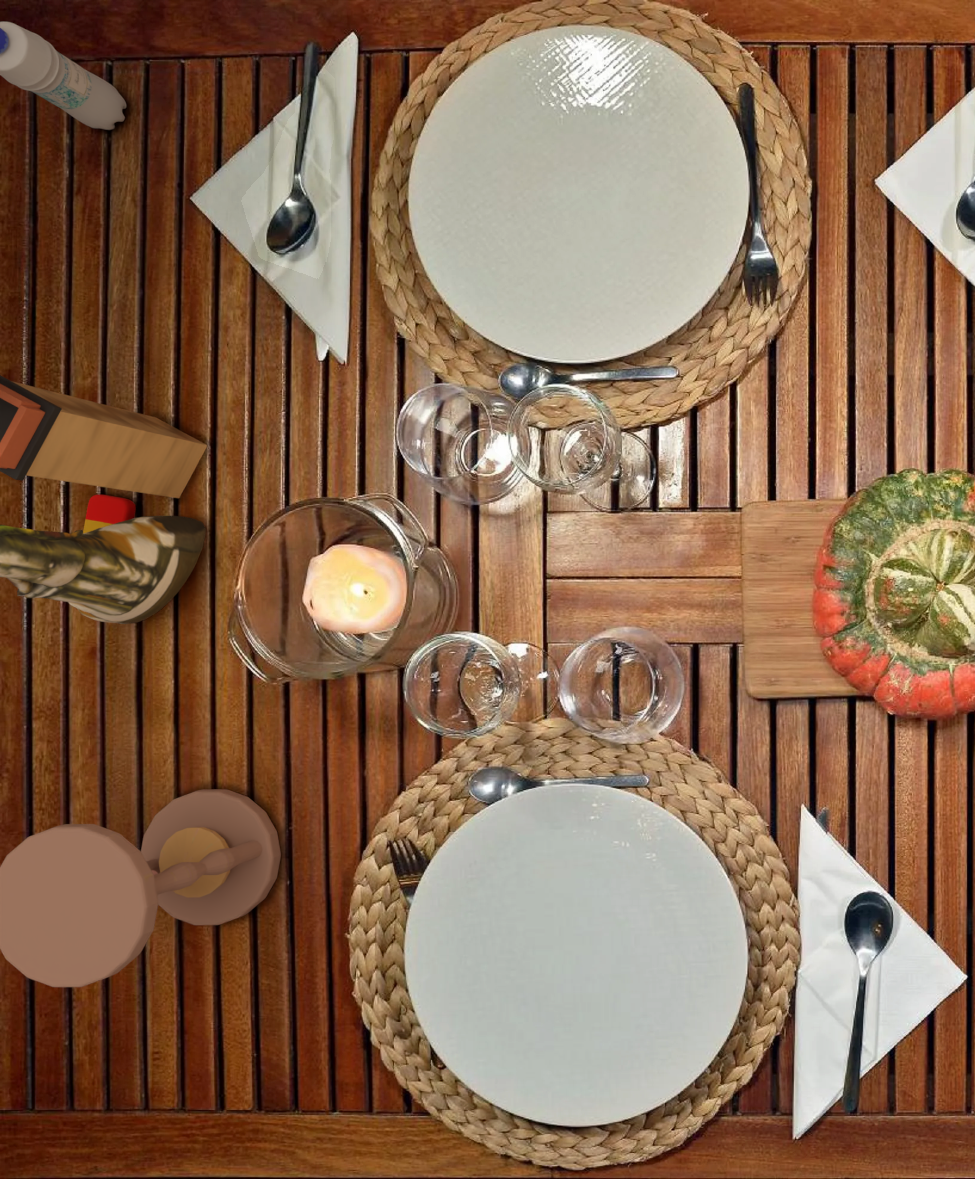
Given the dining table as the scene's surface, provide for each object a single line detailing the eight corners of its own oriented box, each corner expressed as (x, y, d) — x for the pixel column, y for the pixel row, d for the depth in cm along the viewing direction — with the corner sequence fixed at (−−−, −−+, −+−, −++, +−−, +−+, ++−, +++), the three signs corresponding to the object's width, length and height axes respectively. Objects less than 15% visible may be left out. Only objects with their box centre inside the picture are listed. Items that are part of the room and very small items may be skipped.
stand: (127, 470, 142) (-42, 440, 117) (155, 417, 142) (-7, 376, 117) (179, 498, 142) (21, 474, 117) (207, 445, 142) (56, 410, 117)
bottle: (139, 128, 143) (12, 50, 123) (91, 142, 143) (-43, 66, 123) (126, 80, 143) (-2, -6, 123) (79, 94, 143) (-57, 10, 123)
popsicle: (139, 500, 142) (128, 499, 140) (119, 612, 142) (108, 612, 140) (99, 493, 142) (88, 492, 140) (79, 604, 142) (67, 604, 140)
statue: (174, 496, 142) (-68, 460, 107) (237, 547, 142) (15, 527, 107) (97, 594, 142) (-170, 590, 107) (160, 645, 142) (-88, 657, 107)
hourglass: (284, 790, 141) (148, 829, 116) (280, 923, 141) (142, 991, 116) (152, 786, 141) (-11, 824, 116) (147, 919, 141) (-18, 986, 116)
